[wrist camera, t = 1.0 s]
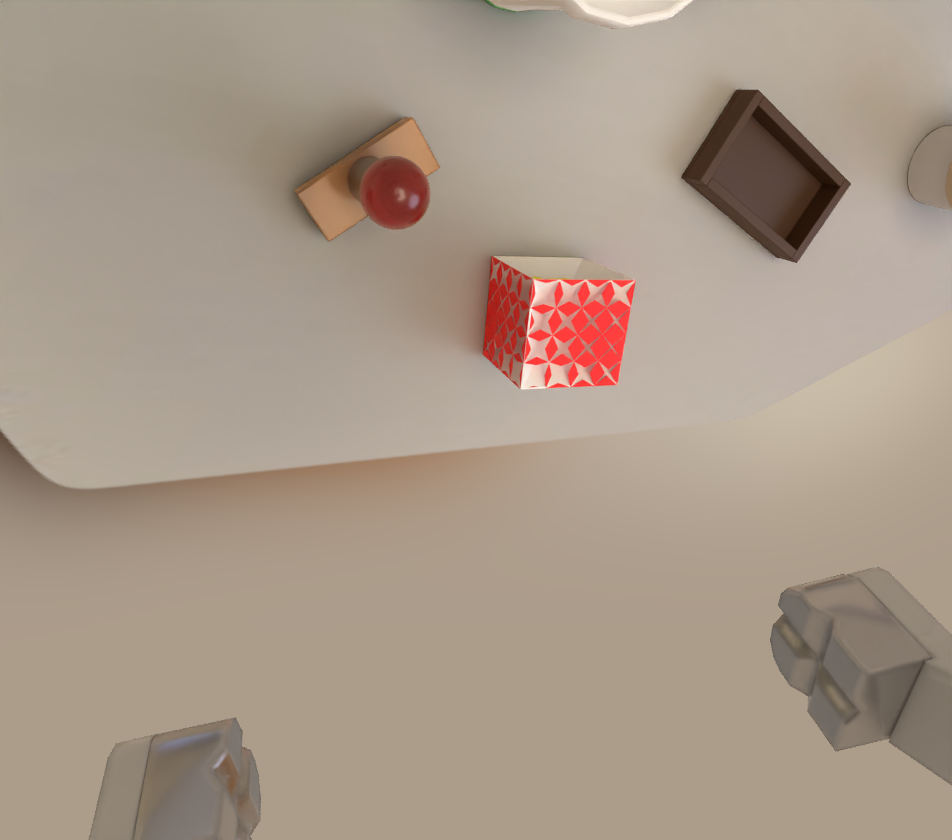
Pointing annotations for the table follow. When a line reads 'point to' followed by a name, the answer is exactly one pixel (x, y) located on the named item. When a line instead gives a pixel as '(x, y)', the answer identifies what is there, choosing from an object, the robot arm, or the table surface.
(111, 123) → the table surface
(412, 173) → the stamp
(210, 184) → the table surface
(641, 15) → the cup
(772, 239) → the stamp tray
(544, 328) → the red and white cube
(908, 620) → the robot arm
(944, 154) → the coffee cup
